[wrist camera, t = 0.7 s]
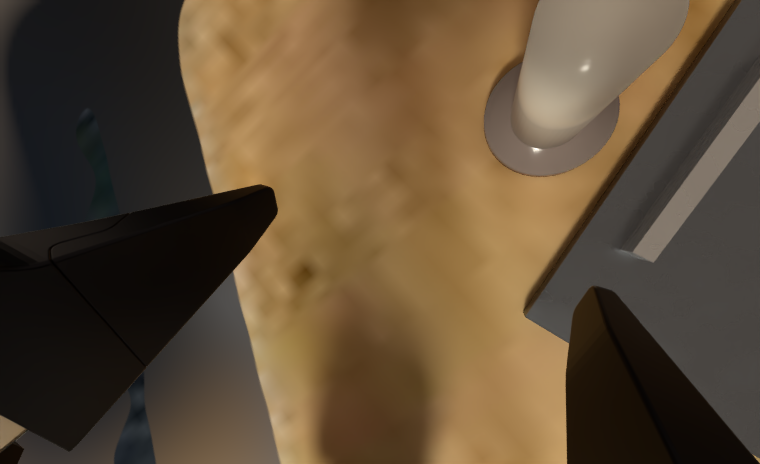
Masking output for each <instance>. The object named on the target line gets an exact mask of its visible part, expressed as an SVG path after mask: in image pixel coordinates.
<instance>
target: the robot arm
mask: <svg viewBox="0 0 760 464" xmlns="http://www.w3.org/2000/svg"><path fill="white" fill-rule="evenodd" d="M277 212H278V208H277V203H276V198H275V194H274V190H273V189H272V188H271V187H268V186H265V185H261V184H259V185H254V186H250V187H245V188H240V189H236V190H231V191H227V192H222V193H218V194H213V195H208V196H204V197H199V198H195V199H190V200H186V201H181V202H176V203H172V204H167V205H163V206H158V207H154V208H149V209H144V210H140V211H135V212H132V213H126V214H121V215H117V216H112V217H107V218H102V219H98V220H93V221H88V222H83V223H77V224H73V225H67V226H61V227H55V228H50V229H44V230H38V231H33V232H27V233H21V234H16V235H10V236H5V237H0V464H18V461H19V459H20V457H21V455H22V452H23V450H24V448H23V447H22V446H20V445H19V444H18V443H17V442H16V440H17V439H18V438H19V437H21V436H22V435H23V434H24V433H25V432H27V431H28V430H29V431H31V432H33V433H35V434H37V435H38V436H40V437H42V438H44V439H46V440H48V441H50V442H52V443H53V444H56V445H57V446H59V447H61V448H63V449H65V450H66V451H68V452H69V451H71V450H72V449H73V448H74V447H75V446H77V444H78V443H79V442H80V441H81V440H82V439H83V438H84V437H85V436H86V435H87V434H88V432H89V431H90V430H91V429H92V428H93V427H94V426H95V425H96V423H97V422H98V421H99V420H100V419H101V418H102V417H103V415H105V413H106V412H107V411H108V410H109V409H110V408H111V407H112V406H113V405H114V403H115V402H116V401H117V400H118V399H119V398H120V397H121V396H122V394H123V393H124V392H125V391H126V390H127V389H128V388H129V387H130V386H131V384H132V383H133V382H134V381H135V380H136V379H137V378H138V377H139V375H140V374H141V373H142V372H143V371H144V370H145V369H146V366H148V365H149V364H150V363H151V362H152V360H153V359H154V358H155V357H156V356H157V355H158V354H159V352H161V351H162V349H163V348H164V347H165V346H166V345H167V344H168V343H169V342H170V340H171V339H172V338H173V337H174V336H175V335H176V334H177V333H178V332H179V331H180V329H181V328H182V327H183V326H184V325H185V324H186V323H187V322H188V320H189V319H190V318H191V317H192V316H193V315H194V314H195V312H196V311H197V310H198V309H199V308H200V307H201V306H202V305H203V304H204V303H205V301H206V300H207V299H208V298H209V297H210V296H211V295H212V294H213V293H214V291H215V290H216V289H217V288H218V287H219V286H220V285H221V284H222V283H223V281H224V280H225V279H226V278H227V277H228V276H229V275H230V274H231V273H232V271H233V270H234V269H235V268H236V267H237V266H238V265H239V264H240V262H241V261H242V260H243V259H244V258H245V257H246V256H247V255H248V253H249V252H250V251H251V250H252V248H253V247H254V246H255V244H256V243H257V242H258V240H259V239H260V238H261V236H262V235H263V234H264V232H265V231H266V229H267V228H268V227H269V225H270V224H271V223H272V221H273V220H274V218H275V217H276V215H277ZM566 429H567V464H760V463H759V462H758V461H757V460H756V459H755V457H754V456H753V455H752V454H751V453H750V451H749V450H748V449H747V448H746V447H745V445H744V444H743V443H742V442H741V441H740V440H739V438H738V437H737V436H736V435H735V434H734V432H733V431H732V430H731V429H730V428H729V427H728V425H727V424H726V423H725V422H724V421H723V419H722V418H721V417H720V416H719V415H718V413H717V412H716V411H715V410H714V409H713V408H712V406H711V405H710V404H709V403H708V402H707V400H706V399H705V398H704V397H703V396H702V395H701V393H700V392H699V391H698V390H697V389H696V387H695V386H694V385H693V384H692V383H691V381H690V380H689V379H688V378H687V377H686V376H685V374H684V373H683V372H682V371H681V370H680V368H679V367H678V366H677V365H676V364H675V363H674V361H673V360H672V359H671V358H670V357H669V355H668V354H667V353H666V352H665V351H664V349H663V348H662V347H661V346H660V345H659V344H658V342H657V341H656V340H655V339H654V338H653V336H652V335H651V334H650V333H649V332H648V331H647V329H646V328H645V327H644V326H643V325H642V323H641V322H640V321H639V320H638V319H637V317H636V316H635V315H634V314H633V313H632V312H631V310H630V309H629V308H628V307H627V306H626V304H625V303H624V302H623V301H622V300H621V299H620V297H619V296H618V295H617V294H616V293H615V292H614V291H612V290H609V289H606V288H603V287H599V286H591V287H590V288H589V289H588V290H587V292H586V293H585V295H584V296H583V297H582V299H581V300H580V302H579V303H578V304H577V306H576V308H575V310H574V312H573V317H572V325H571V333H570V342H569V350H568V358H567V368H566Z"/></svg>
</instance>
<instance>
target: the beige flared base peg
mask: <svg viewBox="0 0 760 464" xmlns="http://www.w3.org/2000/svg"><path fill="white" fill-rule="evenodd" d="M688 8H689V0H539V3H538V5H537V7H536V10H535V14H534V17H533V21H532V25H531V30H530V34H529V38H528V42H527V46H526V51H525V55H524V59H523V62H522V63H520V64H518V65H517V66H515V67H514V68H512V69H511V70H510V71H509V72H508V73H506V74H505V75H504V77H503V78H502V79H501V80H500V81H499V82H498V84H497V85H496V86H495V88H494V89H493V91H492V93H491V95H490V97H489V99H488V102H487V105H486V109H485V115H484V132H485V138H486V141H487V144H488V146H489V149H490V150H491V152H492V154H493V155H494V156H495V158H496V159H497V160H498V161H499V162H500V163H501V164H503V165H504V166H505V167H507V168H508V169H510V170H512V171H514V172H517V173H519V174H522V175H527V176H533V177H548V176H554V175H558V174H562V173H565V172H567V171H570V170H572V169H574V168H576V167H578V166H580V165H581V164H583V163H585V162H586V161H588V160H589V159H591V158H592V157H593V156H594V155H595V154H597V153H598V152H599V151H600V150H601V149H602V147H603V146H604V145H605V144H606V143H607V141H608V140H609V138H610V137H611V135H612V133H613V131H614V129H615V126H616V123H617V121H618V116H619V105H620V103H619V95H620V94H621V93H622V92H623V91H624V90H625V89H626V88H627V87H628V86H629V85H630V84H631V83H633V82H634V81H635V80H636V79H637V78H638V77H639V76H640V75H641V74H642V73H643V72H644V71H645V70H646V69H647V68H649V67H650V66H651V65H652V64H653V63H654V62H655V61H656V60H657V59H658V58H659V57H660V56H661V55H662V54H664V53H665V52H666V50H667V49H668V48H669V47H670V46H671V45H672V44H673V42H674V41H675V39H676V38H677V36H678V35H679V33H680V31H681V29H682V27H683V25H684V22H685V20H686V17H687V13H688Z"/></svg>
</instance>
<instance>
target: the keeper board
mask: <svg viewBox="0 0 760 464" xmlns="http://www.w3.org/2000/svg"><path fill="white" fill-rule="evenodd" d="M591 286H599V287H603V288H606V289H609V290H612V291H614V292H615V293H616V294H617V295H618V296H619V297H620V299H621V300H622V301H623V302H624V303H625V304H626V306H627V307H628V308H629V309H630V310H631V312H632V313H633V314H634V315H635V316H636V317H637V319H638V320H639V321H640V322H641V323H642V325H643V326H644V327H645V328H646V329H647V331H648V332H649V333H650V334H651V335H652V336H653V338H654V339H655V340H656V341H657V342H658V344H659V345H660V346H661V347H662V348H663V349H664V351H665V352H666V353H667V354H668V355H669V357H670V358H671V359H672V360H673V361H674V363H675V364H676V365H677V366H678V367H679V368H680V370H681V371H682V372H683V373H684V374H685V376H686V377H687V378H688V379H689V380H690V381H691V383H692V384H693V385H694V386H695V387H696V389H697V390H698V391H699V392H700V393H701V395H702V396H703V397H704V398H705V399H706V400H707V402H708V403H709V404H710V405H711V406H712V408H713V409H714V410H715V411H716V412H717V413H718V415H719V416H720V417H721V418H722V419H723V421H724V422H725V423H726V424H727V425H728V427H729V428H730V429H731V430H732V431H733V432H734V434H735V435H736V436H737V437H738V438H739V440H740V441H741V442H742V443H743V444H744V445H745V447H746V448H747V449H748V450H749V451H750V453H751V454H753V455H755V456H756V457H758V458H760V0H735V1H734V3H733V4H732V6H731V7H730V9H729V10H728V12H727V13H726V15H725V16H724V18H723V19H722V21H721V22H720V23H719V25H718V26H717V28H716V29H715V31H714V32H713V34H712V35H711V37H710V38H709V40H708V41H707V43H706V44H705V46H704V47H703V48H702V50H701V51H700V53H699V54H698V56H697V57H696V59H695V60H694V62H693V63H692V65H691V66H690V68H689V69H688V71H687V72H686V73H685V75H684V76H683V78H682V79H681V81H680V82H679V84H678V85H677V87H676V88H675V90H674V91H673V93H672V94H671V96H670V97H669V98H668V100H667V101H666V103H665V104H664V106H663V107H662V109H661V110H660V112H659V113H658V115H657V116H656V118H655V119H654V121H653V122H652V124H651V125H650V126H649V128H648V129H647V131H646V132H645V134H644V135H643V137H642V138H641V140H640V141H639V143H638V144H637V146H636V147H635V149H634V150H633V151H632V153H631V154H630V156H629V157H628V159H627V160H626V162H625V163H624V165H623V166H622V168H621V169H620V171H619V172H618V174H617V175H616V176H615V178H614V179H613V181H612V182H611V184H610V185H609V187H608V188H607V190H606V191H605V193H604V194H603V196H602V197H601V199H600V200H599V201H598V203H597V204H596V206H595V207H594V209H593V210H592V212H591V213H590V215H589V216H588V218H587V219H586V221H585V222H584V224H583V225H582V227H581V228H580V229H579V231H578V232H577V234H576V235H575V237H574V238H573V240H572V241H571V243H570V244H569V246H568V247H567V249H566V250H565V252H564V253H563V254H562V256H561V257H560V259H559V260H558V262H557V263H556V265H555V266H554V268H553V269H552V271H551V272H550V274H549V275H548V277H547V278H546V279H545V281H544V282H543V284H542V285H541V287H540V288H539V290H538V291H537V293H536V294H535V296H534V297H533V299H532V300H531V302H530V303H529V304H528V306H527V307H526V309H525V310H524V312H523V313H524V315H525V317H526V318H528V319H529V320H531V321H533V322H534V323H536V324H538V325H539V326H541V327H543V328H544V329H546V330H548V331H549V332H551V333H553V334H554V335H556V336H558V337H559V338H561V339H563V340H564V341H566V342H568V343H569V342H570V333H571V325H572V317H573V312H574V310H575V308H576V306H577V304H578V303H579V302H580V300H581V299H582V297H583V296H584V295H585V293H586V292H587V290H588V289H589V288H590V287H591Z"/></svg>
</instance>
